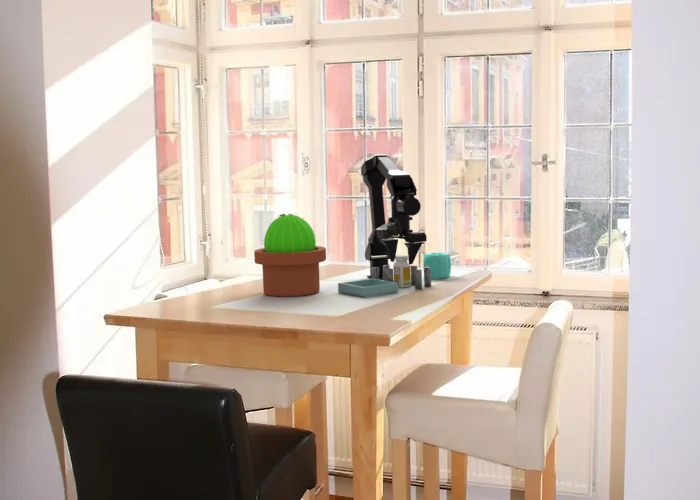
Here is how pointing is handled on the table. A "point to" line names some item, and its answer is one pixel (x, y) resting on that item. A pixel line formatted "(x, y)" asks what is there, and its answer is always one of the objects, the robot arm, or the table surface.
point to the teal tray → (368, 287)
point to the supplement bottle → (402, 271)
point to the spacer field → (415, 275)
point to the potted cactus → (290, 258)
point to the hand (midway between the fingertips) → (401, 262)
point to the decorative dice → (438, 264)
